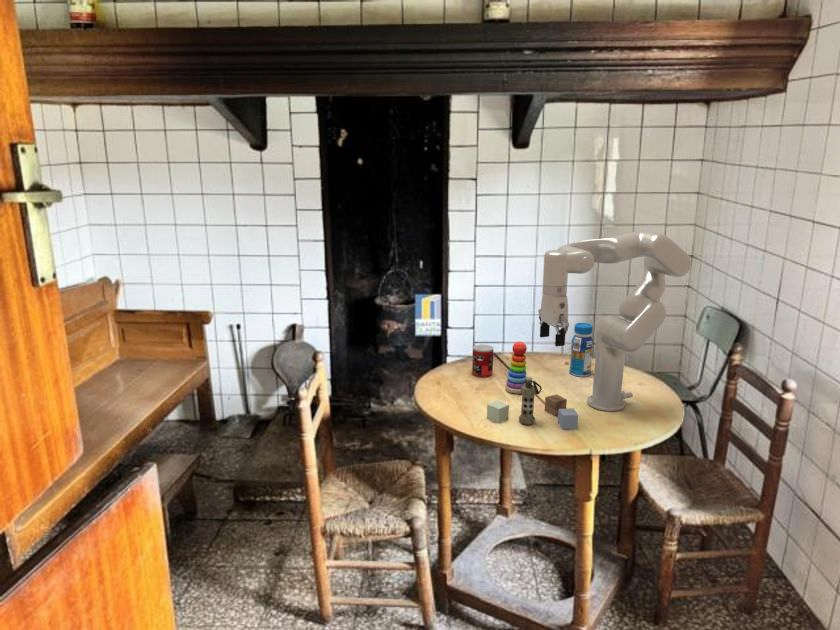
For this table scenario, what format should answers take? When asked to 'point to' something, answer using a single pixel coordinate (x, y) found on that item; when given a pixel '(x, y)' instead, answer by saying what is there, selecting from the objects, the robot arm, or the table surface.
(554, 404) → the walnut cube
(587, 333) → the beverage bottle
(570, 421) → the slate blue cube
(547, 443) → the table surface
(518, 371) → the stacking toy
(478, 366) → the canned food
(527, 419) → the grenade model
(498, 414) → the sage cube
